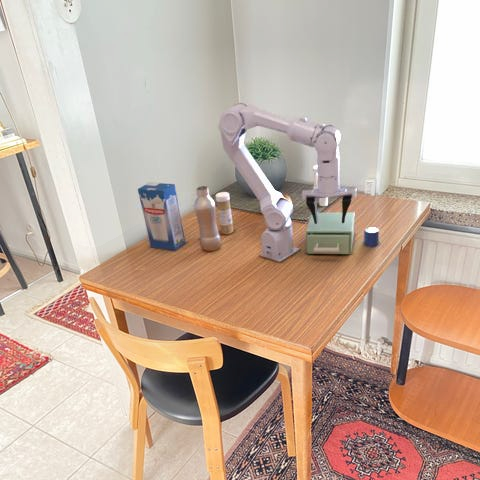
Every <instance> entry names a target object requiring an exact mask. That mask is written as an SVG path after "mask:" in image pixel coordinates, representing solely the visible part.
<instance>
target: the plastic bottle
mask: <svg viewBox="0 0 480 480" xmlns="http://www.w3.org/2000/svg"><path fill="white" fill-rule="evenodd" d="M209 189H210V188H209V187H208V185H202V186H198V187H196V188H195V190H196V194H195V195H196V196H197V197H196V199H195V200H194V203H193V209H194V212H195V215H196V218H197V222H198V226H199V244H200V246H201V248H202V250H204V251H207V252H211V251H216V250H218V249H219V248H220V247H221V246H222V245H221V244H222V240H221V235H220V233H219V229H218V226H217V217H216V216H217V215H216V202H215V200H214V198H213V197H212V196H211V195H210V190H209Z"/></svg>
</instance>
